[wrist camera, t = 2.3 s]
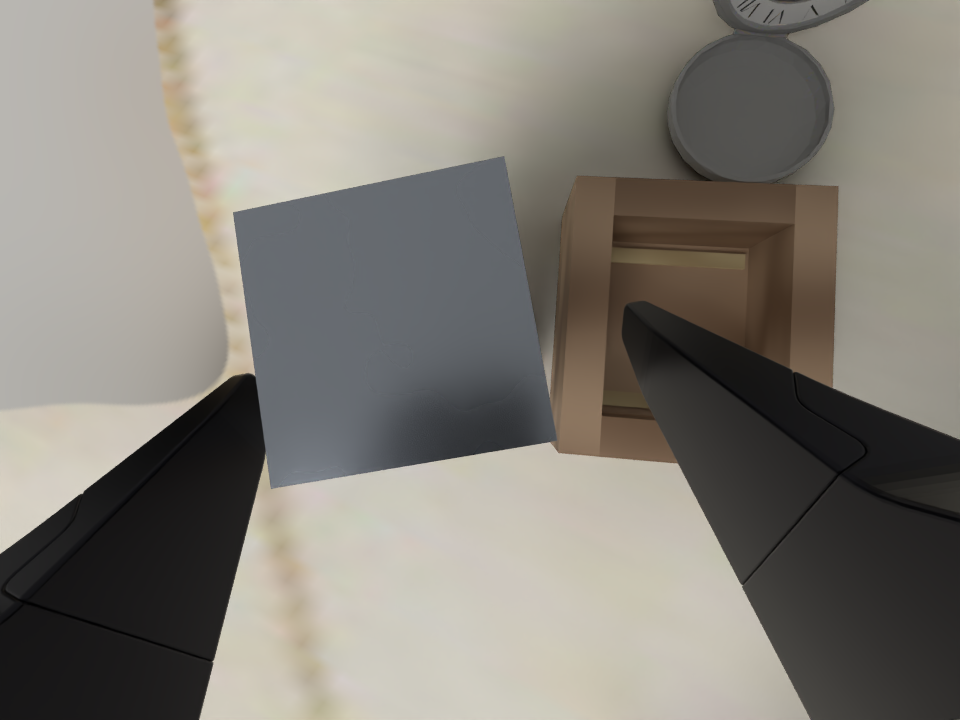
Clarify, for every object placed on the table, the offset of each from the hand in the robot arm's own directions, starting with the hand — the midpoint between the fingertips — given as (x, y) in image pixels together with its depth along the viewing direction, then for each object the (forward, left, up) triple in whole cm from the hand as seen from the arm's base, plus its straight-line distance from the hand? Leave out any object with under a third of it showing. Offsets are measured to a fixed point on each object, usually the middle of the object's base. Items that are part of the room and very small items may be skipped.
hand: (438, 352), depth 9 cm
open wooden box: (+6, -6, -8) cm, 12 cm away
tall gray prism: (0, 0, -8) cm, 8 cm away
